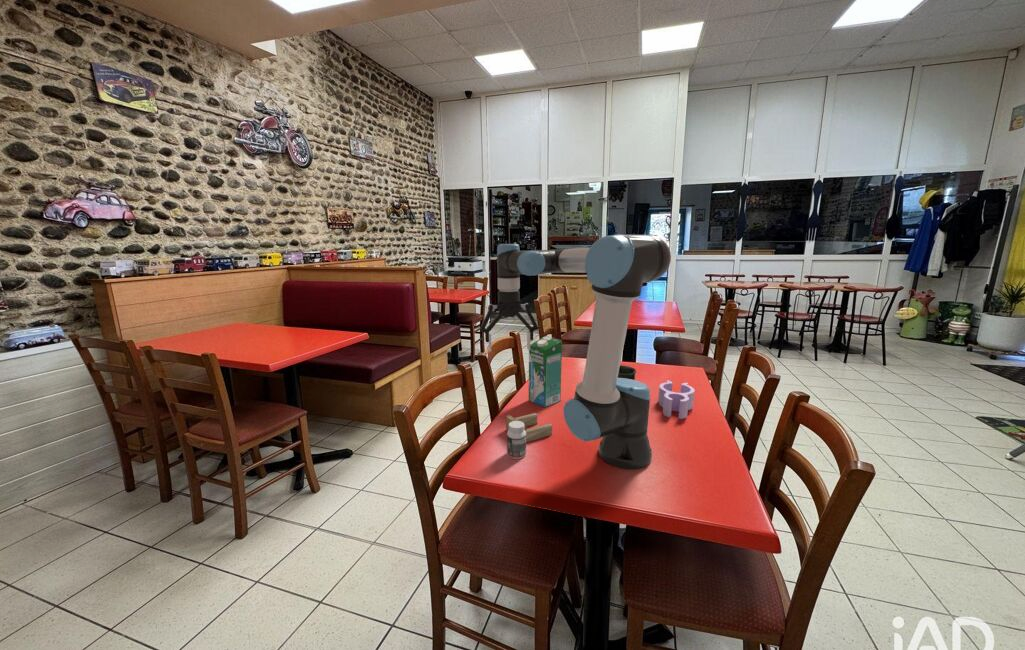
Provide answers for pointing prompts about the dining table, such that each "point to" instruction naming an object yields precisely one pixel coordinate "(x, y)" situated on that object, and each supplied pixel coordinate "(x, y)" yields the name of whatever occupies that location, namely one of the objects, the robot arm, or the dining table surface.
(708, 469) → the dining table surface
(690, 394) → the clip
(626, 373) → the mug
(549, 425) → the channel
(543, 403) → the milk carton
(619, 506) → the dining table surface
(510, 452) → the pill bottle
